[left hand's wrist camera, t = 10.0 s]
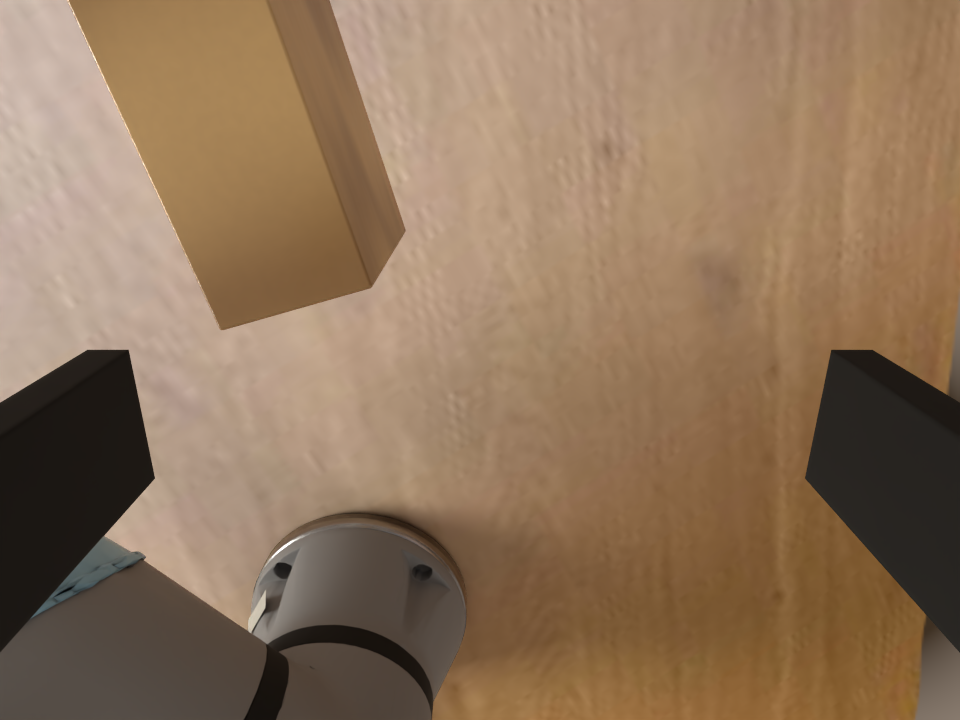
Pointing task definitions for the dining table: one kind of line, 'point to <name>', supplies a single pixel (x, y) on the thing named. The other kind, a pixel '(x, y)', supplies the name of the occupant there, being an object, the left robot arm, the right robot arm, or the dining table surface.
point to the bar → (251, 145)
